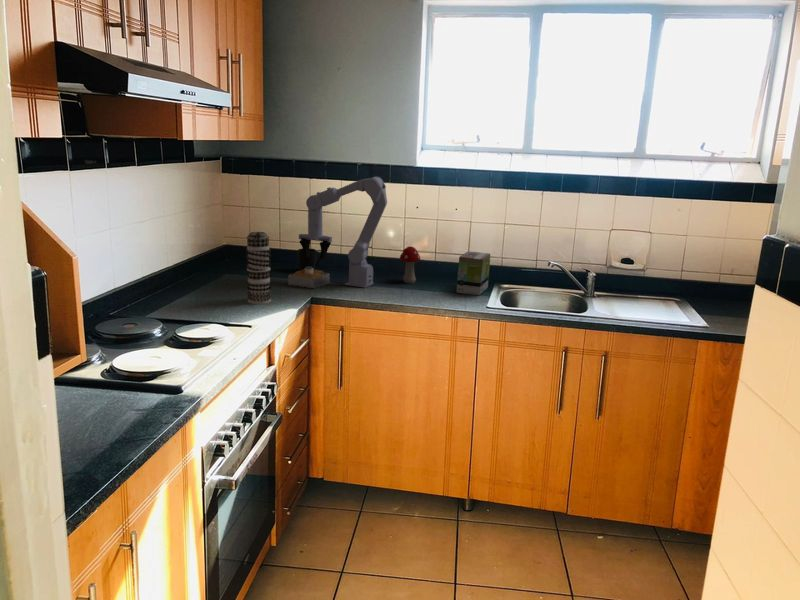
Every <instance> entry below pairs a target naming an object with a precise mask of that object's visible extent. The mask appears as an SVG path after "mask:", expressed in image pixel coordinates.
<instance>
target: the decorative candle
mask: <svg viewBox="0 0 800 600" xmlns="http://www.w3.org/2000/svg"><path fill="white" fill-rule="evenodd" d="M245 238H246V239H247V242H246V243H247V245H246V248H245V250H244V252H245V253H246V254H245V258H246V259H245V263H246V271H247V274H248V275H247V276H248V277H247V282H246V285H247V287H246V288H247V292H246V294H247V303H249V304H252V305H253V304H254V305H264V304H269V303H271V302H272V295H271V294H272V291H271V289H272V287H271V284H272V282H271V278H270V271H271V266H272V264H271V263H272V262H271V261H272V260H271V259H270V258H271V257H272V254H271V252H272V250H271V249H270V244H269V243H270V240H269V238H270V236H268V234H267V233H266V232H262V231H251V232H249V234H248V235H247V236H246V237H245Z"/></svg>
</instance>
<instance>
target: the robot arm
mask: <svg viewBox="0 0 800 600" xmlns="http://www.w3.org/2000/svg"><path fill="white" fill-rule="evenodd" d="M386 189H387V186H386V184H385V182H384V180H383V179H382V178H381V177H380V176H372V177H369V178H364V179H360V180H359V179H358V180H357V181H353V182H352V183H350V184H346V185H344V186H341V187H340V188H336V187H330V186H329V187H327V189H326V190H323V191H317V192H316V194H313V195H310V196H309V197H308V198H307V199H306V201H305V202H306V203H305V204H306V207H307V210H308V211H307V212H308V213H307V233H299V234H298V239H299V244H300V245H301V249H303V250H304V254H305V257H309V255H310V249H311V248H310V247H311V242H312V241H317V242H319V246H320V247H319V248H320V250H321V252H320V254H321V260H326V257H327V253H328V251H329V248H330V246H331V244H332V242H333V237H332V236H328V235H327V236H326V235H323V207H327V206H329V205H330V206H331V205H332V204H334V203H336V202H339V201H340V199H341V197H343V196H345V195H349V194H351V193H354V192H357V191H358V192H365V193H366V194H367V195H368V196H369V198H370V199H371V200H372V204H373V205H372V207H371V208H370V209H371V210H370V212H369V214H368V216H367V218H366V221H365V223H364V225H363V228H362V229H361V232H360V234H359V237H358V239H357V240H356V242H355V244H354V245H353V248H351V249H350V250H349V251H348V255H347V257H348V260H349V261H348V264H349V265H348V282H345V283H344V285H345V286H350V287H360V288H364V289H365V288H368V287H371V286H372V285H374V268H373V265H372V264H369V263H368V261H367V257H368V256H369V248H370V243H371V241H372V238H373V236H374V234H375V231H376V230H377V227H378V225H379V223H380V220H381V218H382V216H383V213H384V212H385V209H386V207H387V204H388V198H387V191H386Z"/></svg>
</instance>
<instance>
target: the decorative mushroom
mask: <svg viewBox="0 0 800 600" xmlns="http://www.w3.org/2000/svg"><path fill="white" fill-rule="evenodd" d="M399 260H400V261H402V262H403V263H405V268H404V275H403V277H402V279H403V282H404V283H405V284H414V283H416V281H417V278H416V275H415V264H416V263H418V262H421V255H420V253H419V252H418V250H417V249H416V248H415V247H414V246H410V245H409V246H407V247H405V248H404V249H403V250H402V252H401V254H400V256H399Z"/></svg>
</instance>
